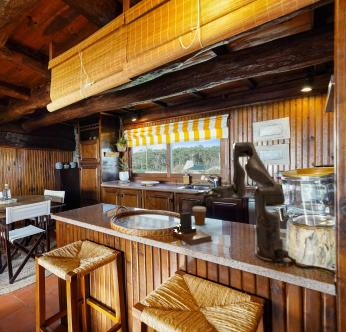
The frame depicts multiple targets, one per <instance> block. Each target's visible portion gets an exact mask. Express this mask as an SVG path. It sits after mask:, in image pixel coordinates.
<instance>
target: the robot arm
mask: <svg viewBox="0 0 346 332" xmlns="http://www.w3.org/2000/svg"><path fill="white" fill-rule="evenodd" d="M240 158H248V159H247V160H246V162H245V164H244V167H243V166H242V164H241V162H240ZM232 163H233V174H232V184H230V185H227V186H219V187H211V188H210V190H198V191H196V192H194V197H203V199H213V200H220V199H221V200H222V199H226V198H231V197H233V196H235V197H237V198H239V199H242V198H244V197H245V196H246V194H247V187H246V182H245V181H246V175H247V177H248V178H249V179H250V180H251V181H253V182H254V183H256V184H258V185H259V186H256V187H255V188H254V190H253V199H254V214H255V233H256V234H255V236H256V241H255V243H256V244H255V249H256V257H257V258H259V259H261V260H263V261H266V262H271V263H274V264H275V263H278V262H282V261H284V259H289V260H290V261H291V262H292V264H293V265H294V266H296V267H298V268H301V269H318V270H323V271H325V272H326V271H327V272H329V273H331V274H333V275H334V276H335V271H334V270H333V269H331V268H326V267H323V266H318V265H313V264H312V265H311V264H310V265H309V264H308V265H303V264H299V263H297V262H296V260H295V259H294V258H293V257H291V256H290V255H289V251H287V250H285V249H284V240H283V239H282V238H281V217H280V215H279V214H276V213H273V212H270V211H268V210H267V209H266V207H271V208H273V207H274V208H275V207H282V206H283V205H284V204H285V202H286V199H285V198H286V197H285V194H284V191H283V190H282V188H281V187H280V186H279V184H278V183H277V182H276V181H275V179H274V178H273V177H272V175H271V174H270V173H269V170H268V169H267V167H266V166H265V164H264V162H263V161H262V159H261V158H260V156H259V154H258V152H257V149H256V147H255V145H254V143H253V142H251V141H243V142H242V141H241V142H239V141H238V142H235V143H234V144H233V146H232Z"/></svg>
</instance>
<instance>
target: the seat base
mask: <svg viewBox="0 0 346 332" xmlns="http://www.w3.org/2000/svg"><path fill="white" fill-rule="evenodd" d="M179 225H180V224H179ZM179 225H176V226H175V227H176V229H174V230H175V231H174V233H173V232H172V236H174V237H175V238H177V239H179V240H181V241H183V242H185V243H187V244H189V245H190V246H194V245H195V246H196V245H198V244H199V245H200V244H204V243H208V242H212V235H211V234H208V233H206V232H203V231H201V230H198V229H197V227H195V226H194V227H193V226H192V228H188V229H184V232H183V231H181V230H179Z"/></svg>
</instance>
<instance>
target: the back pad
mask: <svg viewBox="0 0 346 332" xmlns="http://www.w3.org/2000/svg"><path fill="white" fill-rule="evenodd" d="M192 219H193V217H192V212H189V211H185V212H179V225H180V230H181V231H183V232H184V229H188V228H193V221H192Z"/></svg>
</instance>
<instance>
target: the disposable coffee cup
mask: <svg viewBox="0 0 346 332" xmlns="http://www.w3.org/2000/svg"><path fill="white" fill-rule="evenodd" d="M192 212H193V218H194V224H195V225H197V226H205V223H206V212H207V208H206V206H201V205H195V206H193V207H192Z"/></svg>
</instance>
